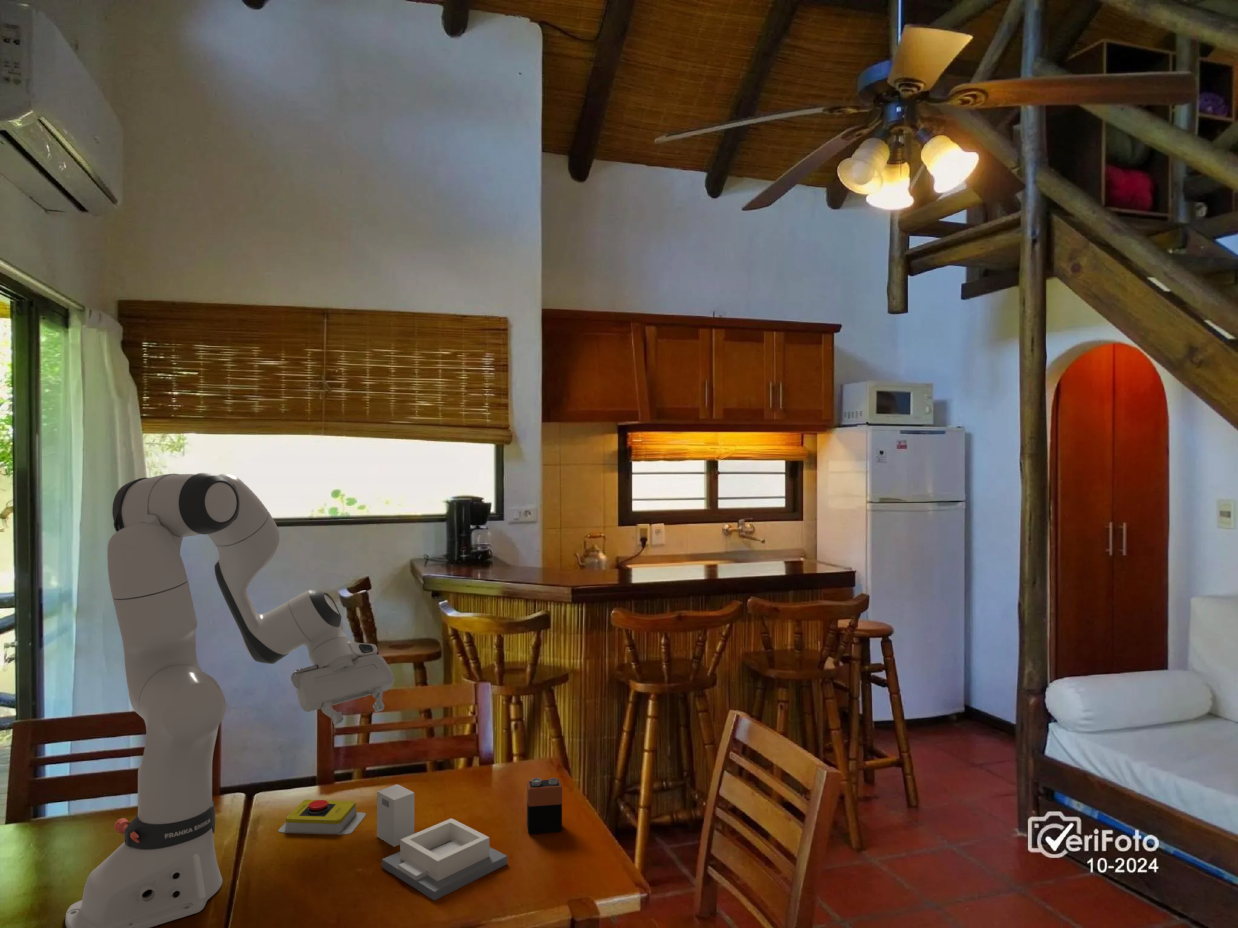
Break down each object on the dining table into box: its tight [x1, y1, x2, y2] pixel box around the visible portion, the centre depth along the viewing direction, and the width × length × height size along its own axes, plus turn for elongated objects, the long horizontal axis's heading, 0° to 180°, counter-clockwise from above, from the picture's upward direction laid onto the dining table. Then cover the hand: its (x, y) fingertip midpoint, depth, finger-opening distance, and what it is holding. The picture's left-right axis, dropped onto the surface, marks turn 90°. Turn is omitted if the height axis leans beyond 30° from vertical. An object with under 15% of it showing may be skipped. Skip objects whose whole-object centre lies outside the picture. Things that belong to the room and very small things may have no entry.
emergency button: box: [278, 799, 367, 835], centre depth 160 cm, size 9×4×15 cm
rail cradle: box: [381, 817, 508, 901], centre depth 143 cm, size 16×16×5 cm
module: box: [376, 784, 415, 847], centre depth 154 cm, size 5×6×9 cm
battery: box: [526, 777, 563, 835], centre depth 158 cm, size 4×7×10 cm, turn 101°
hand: (360, 715), depth 163 cm, fingers open, 8 cm apart
